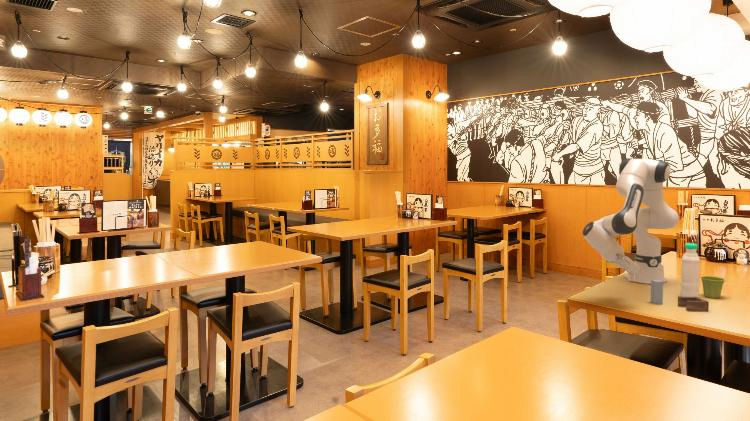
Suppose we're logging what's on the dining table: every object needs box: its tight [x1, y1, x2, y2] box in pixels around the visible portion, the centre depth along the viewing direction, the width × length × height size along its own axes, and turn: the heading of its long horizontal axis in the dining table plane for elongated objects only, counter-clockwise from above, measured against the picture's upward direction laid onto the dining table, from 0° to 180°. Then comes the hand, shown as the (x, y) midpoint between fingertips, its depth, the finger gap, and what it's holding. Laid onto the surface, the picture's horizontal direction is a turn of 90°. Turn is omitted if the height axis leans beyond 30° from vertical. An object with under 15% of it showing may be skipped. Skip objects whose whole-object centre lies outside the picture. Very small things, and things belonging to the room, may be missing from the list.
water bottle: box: [679, 242, 701, 298], centre depth 219 cm, size 7×7×25 cm
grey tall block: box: [649, 280, 664, 305], centre depth 211 cm, size 4×4×10 cm
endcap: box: [677, 296, 710, 312], centre depth 203 cm, size 8×8×4 cm
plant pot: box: [700, 275, 726, 299], centre depth 220 cm, size 9×9×9 cm
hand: (635, 274), depth 212 cm, fingers open, 8 cm apart
